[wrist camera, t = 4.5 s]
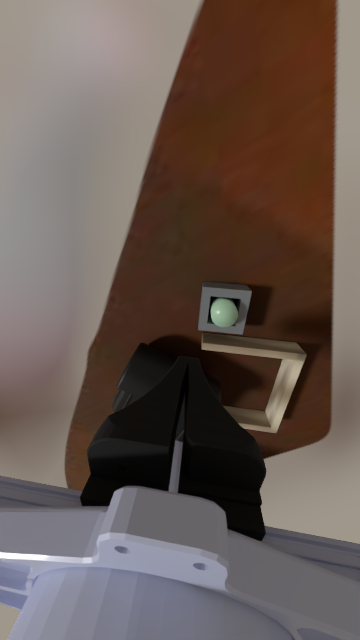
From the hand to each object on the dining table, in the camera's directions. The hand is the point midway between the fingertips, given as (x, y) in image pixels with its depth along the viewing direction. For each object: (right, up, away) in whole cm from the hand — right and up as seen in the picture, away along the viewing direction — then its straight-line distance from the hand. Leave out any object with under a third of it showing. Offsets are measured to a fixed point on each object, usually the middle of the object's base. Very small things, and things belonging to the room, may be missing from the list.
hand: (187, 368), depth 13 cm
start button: (+4, +5, +7) cm, 10 cm away
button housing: (+4, +5, +8) cm, 10 cm away
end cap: (-2, -3, +12) cm, 13 cm away
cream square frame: (+7, -4, +11) cm, 14 cm away
